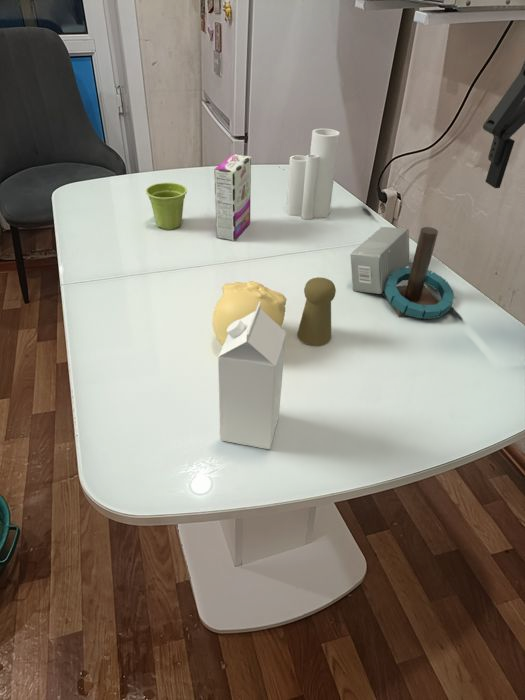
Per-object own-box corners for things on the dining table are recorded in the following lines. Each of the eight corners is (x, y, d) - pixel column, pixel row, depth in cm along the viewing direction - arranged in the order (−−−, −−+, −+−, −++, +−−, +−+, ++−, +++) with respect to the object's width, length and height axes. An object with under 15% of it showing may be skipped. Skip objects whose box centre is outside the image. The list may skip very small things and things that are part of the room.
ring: (434, 272, 104) (437, 265, 103) (461, 315, 96) (464, 308, 95) (376, 276, 102) (378, 269, 100) (398, 321, 94) (401, 314, 92)
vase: (323, 206, 137) (333, 127, 124) (334, 217, 131) (344, 136, 119) (283, 209, 134) (289, 129, 122) (292, 221, 129) (299, 138, 116)
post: (422, 289, 105) (441, 219, 95) (442, 313, 98) (465, 240, 88) (381, 292, 103) (396, 221, 94) (398, 317, 96) (416, 243, 87)
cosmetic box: (379, 256, 95) (412, 225, 105) (345, 253, 99) (380, 224, 109) (381, 296, 100) (413, 263, 110) (349, 292, 104) (382, 260, 114)
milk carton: (279, 414, 75) (288, 305, 63) (270, 450, 69) (277, 339, 57) (232, 406, 76) (232, 297, 64) (219, 441, 70) (217, 329, 58)
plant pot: (191, 231, 122) (189, 196, 116) (151, 234, 120) (147, 198, 114) (186, 215, 129) (184, 181, 123) (148, 218, 127) (144, 183, 121)
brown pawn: (325, 324, 93) (332, 271, 86) (335, 344, 89) (344, 289, 82) (293, 327, 92) (298, 274, 85) (302, 347, 88) (308, 292, 81)
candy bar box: (231, 220, 128) (232, 152, 118) (250, 223, 126) (252, 155, 116) (214, 238, 119) (213, 167, 109) (234, 242, 118) (235, 171, 108)
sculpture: (290, 332, 91) (295, 279, 84) (263, 371, 82) (266, 315, 76) (233, 315, 94) (233, 263, 88) (201, 351, 86) (198, 296, 79)
